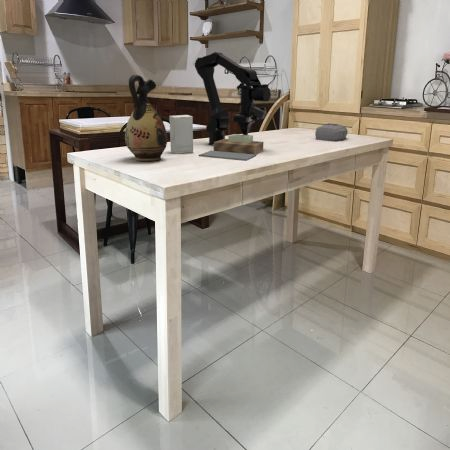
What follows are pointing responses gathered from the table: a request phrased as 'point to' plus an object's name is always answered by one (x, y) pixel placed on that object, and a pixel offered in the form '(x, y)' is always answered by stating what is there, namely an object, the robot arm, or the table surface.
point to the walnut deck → (238, 147)
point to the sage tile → (240, 138)
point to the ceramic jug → (144, 124)
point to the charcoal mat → (228, 155)
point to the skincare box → (181, 134)
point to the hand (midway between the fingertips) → (245, 137)
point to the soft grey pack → (331, 132)
